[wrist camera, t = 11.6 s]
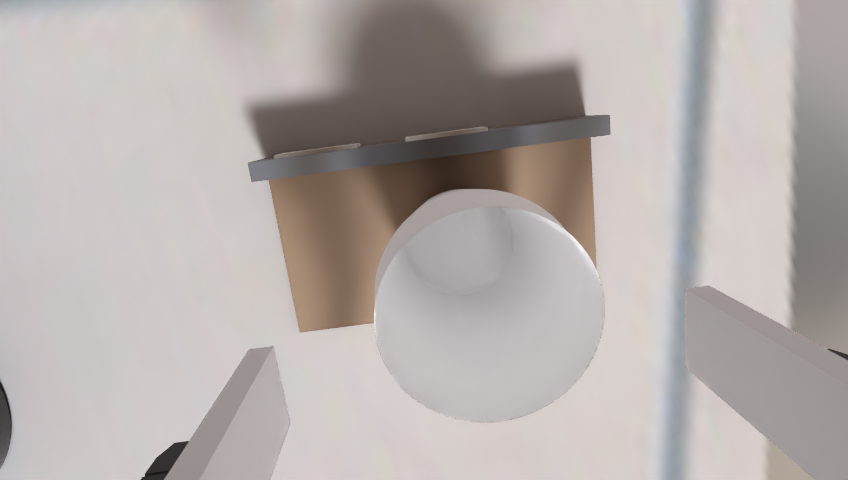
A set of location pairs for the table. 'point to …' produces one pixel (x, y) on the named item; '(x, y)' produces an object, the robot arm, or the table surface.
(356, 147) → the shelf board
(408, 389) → the cup
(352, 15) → the table surface
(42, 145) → the table surface
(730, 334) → the robot arm
